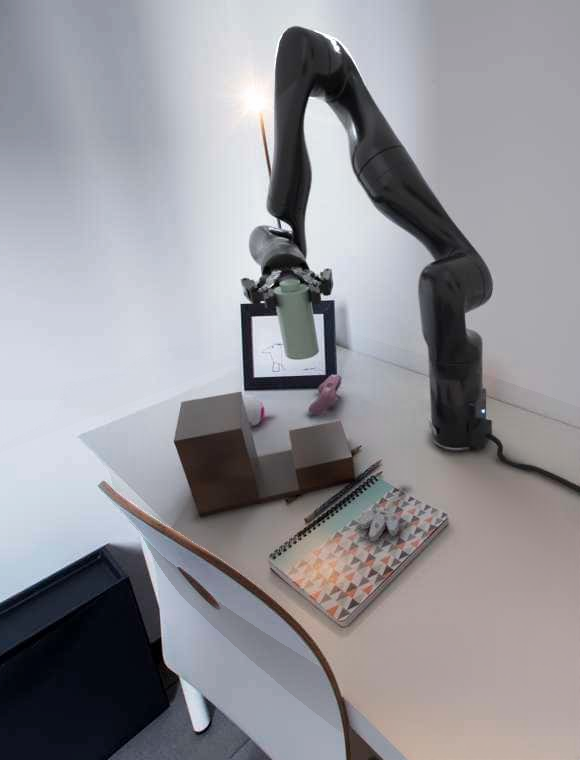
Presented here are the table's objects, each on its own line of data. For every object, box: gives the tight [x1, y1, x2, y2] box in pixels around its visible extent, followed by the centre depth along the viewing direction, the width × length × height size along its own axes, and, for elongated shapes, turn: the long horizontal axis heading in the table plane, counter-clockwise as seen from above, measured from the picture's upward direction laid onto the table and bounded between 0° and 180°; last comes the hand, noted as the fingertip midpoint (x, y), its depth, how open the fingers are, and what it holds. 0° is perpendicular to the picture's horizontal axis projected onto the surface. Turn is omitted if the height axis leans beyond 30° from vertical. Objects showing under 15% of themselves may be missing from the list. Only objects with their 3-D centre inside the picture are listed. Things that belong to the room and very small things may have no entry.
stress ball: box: [242, 394, 270, 427], centre depth 104 cm, size 8×8×7 cm
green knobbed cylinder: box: [273, 279, 320, 361], centre depth 78 cm, size 5×5×11 cm
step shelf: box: [173, 391, 357, 518], centre depth 85 cm, size 24×12×14 cm, turn 109°
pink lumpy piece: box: [308, 373, 343, 415], centre depth 109 cm, size 10×5×7 cm, turn 179°
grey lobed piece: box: [359, 487, 405, 543], centre depth 79 cm, size 6×12×3 cm, turn 0°
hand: (293, 301), depth 74 cm, fingers closed on green knobbed cylinder, 5 cm apart
